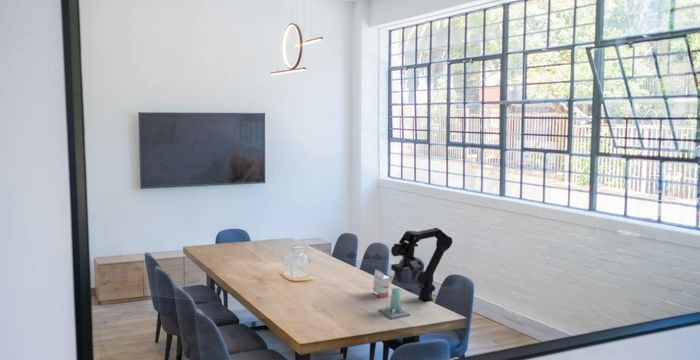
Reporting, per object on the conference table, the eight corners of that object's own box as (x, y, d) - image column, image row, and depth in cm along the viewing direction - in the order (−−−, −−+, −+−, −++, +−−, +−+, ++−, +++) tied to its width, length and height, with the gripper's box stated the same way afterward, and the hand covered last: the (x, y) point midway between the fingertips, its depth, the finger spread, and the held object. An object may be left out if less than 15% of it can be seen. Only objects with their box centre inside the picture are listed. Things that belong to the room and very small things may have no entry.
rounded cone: (392, 308, 336) (394, 287, 334) (401, 311, 334) (402, 289, 331) (388, 311, 332) (390, 290, 330) (396, 313, 330) (398, 292, 327)
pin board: (397, 307, 341) (397, 301, 340) (410, 315, 331) (410, 309, 330) (378, 310, 335) (379, 304, 334) (391, 319, 325) (392, 312, 324)
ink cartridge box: (388, 296, 355) (390, 272, 352) (381, 298, 352) (383, 273, 349) (378, 291, 361) (381, 267, 359) (372, 293, 359) (374, 268, 356)
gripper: (403, 260, 330) (401, 288, 333) (431, 257, 340) (428, 284, 343) (391, 254, 339) (389, 281, 342) (418, 250, 349) (416, 277, 352)
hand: (406, 281), depth 345 cm, fingers open, 9 cm apart
